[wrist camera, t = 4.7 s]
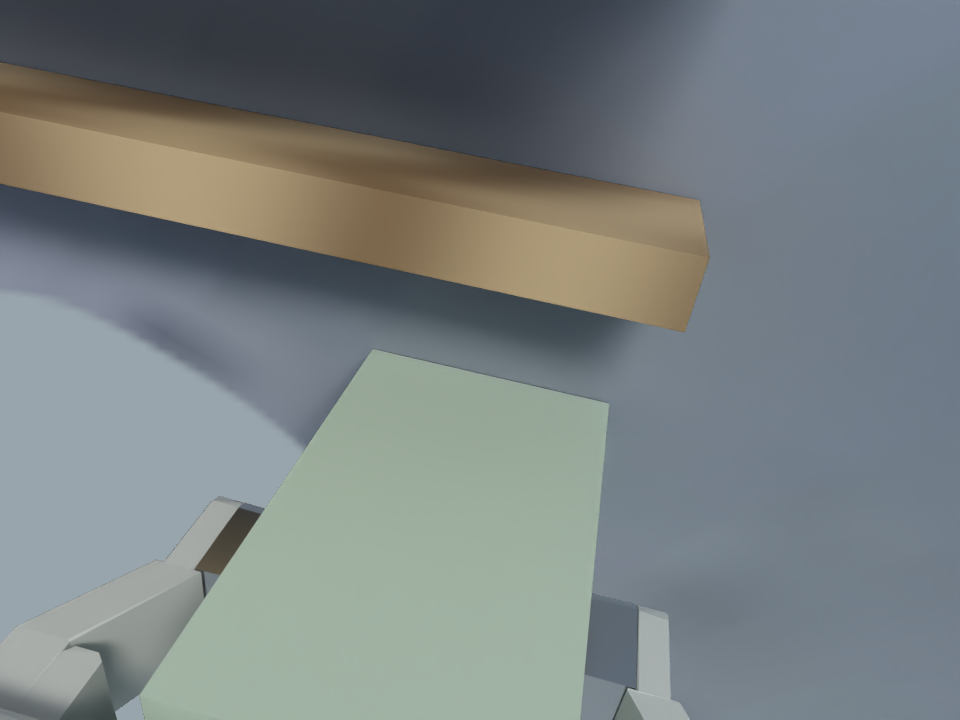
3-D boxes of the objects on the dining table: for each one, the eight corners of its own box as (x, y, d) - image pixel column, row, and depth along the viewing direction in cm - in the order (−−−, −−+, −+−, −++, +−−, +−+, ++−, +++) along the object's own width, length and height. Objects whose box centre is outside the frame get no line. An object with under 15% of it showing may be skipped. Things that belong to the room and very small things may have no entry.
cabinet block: (608, 403, 14) (554, 999, 6) (569, 541, 16) (490, 1116, 8) (372, 348, 15) (45, 836, 7) (363, 489, 17) (106, 985, 9)
